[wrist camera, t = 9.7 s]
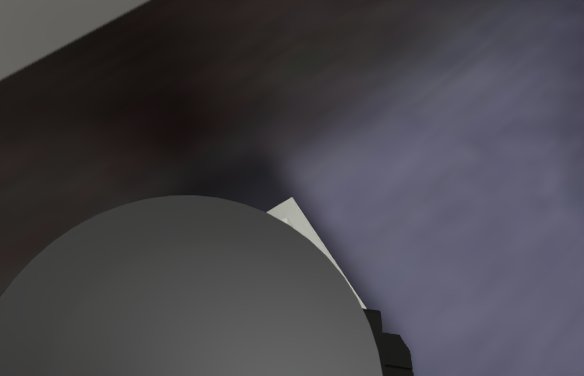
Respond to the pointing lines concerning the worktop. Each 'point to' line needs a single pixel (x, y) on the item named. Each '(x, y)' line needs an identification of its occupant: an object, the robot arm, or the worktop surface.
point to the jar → (184, 299)
